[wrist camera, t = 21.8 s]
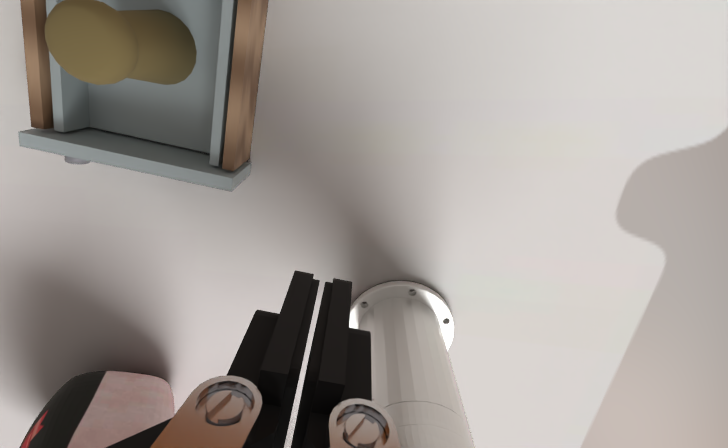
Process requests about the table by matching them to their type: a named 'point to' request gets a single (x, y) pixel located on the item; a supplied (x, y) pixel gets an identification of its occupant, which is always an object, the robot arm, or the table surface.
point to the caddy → (241, 82)
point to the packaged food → (101, 410)
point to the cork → (119, 43)
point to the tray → (152, 107)
